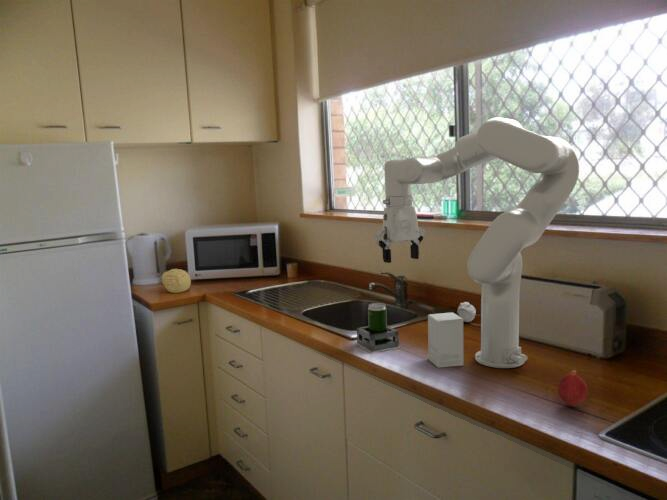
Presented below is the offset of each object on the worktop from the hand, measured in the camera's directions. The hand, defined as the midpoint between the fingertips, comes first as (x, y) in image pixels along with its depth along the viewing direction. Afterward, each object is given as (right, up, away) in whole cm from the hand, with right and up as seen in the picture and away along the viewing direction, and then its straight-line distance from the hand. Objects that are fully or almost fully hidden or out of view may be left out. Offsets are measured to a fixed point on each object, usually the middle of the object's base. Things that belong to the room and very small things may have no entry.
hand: (401, 260), depth 157 cm
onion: (+31, -30, -44) cm, 62 cm away
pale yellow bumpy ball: (-92, -16, +87) cm, 128 cm away
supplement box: (+10, -27, -15) cm, 33 cm away
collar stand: (-7, -25, 0) cm, 26 cm away
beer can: (-7, -25, 0) cm, 26 cm away
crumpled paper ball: (+25, -21, +22) cm, 39 cm away
